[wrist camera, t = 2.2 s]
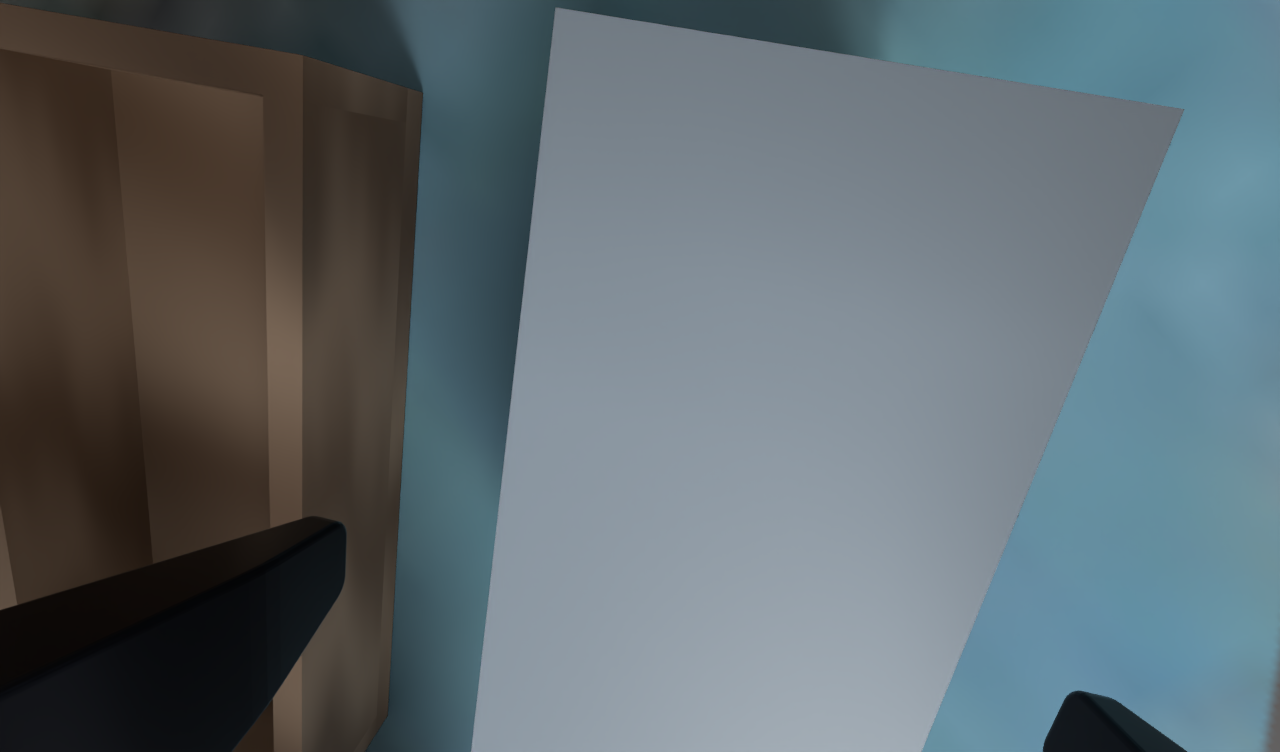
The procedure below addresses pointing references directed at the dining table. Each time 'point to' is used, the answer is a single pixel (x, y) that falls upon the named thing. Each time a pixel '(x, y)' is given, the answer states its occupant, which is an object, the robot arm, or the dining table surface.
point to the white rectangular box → (782, 383)
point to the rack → (205, 325)
